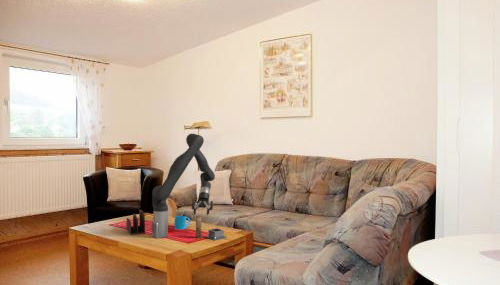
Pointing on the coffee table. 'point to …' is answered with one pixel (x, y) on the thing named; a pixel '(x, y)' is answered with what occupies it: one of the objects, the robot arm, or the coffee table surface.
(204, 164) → the robot arm
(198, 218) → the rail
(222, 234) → the grey square block
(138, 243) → the coffee table surface
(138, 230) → the letter holder
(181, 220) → the mug
